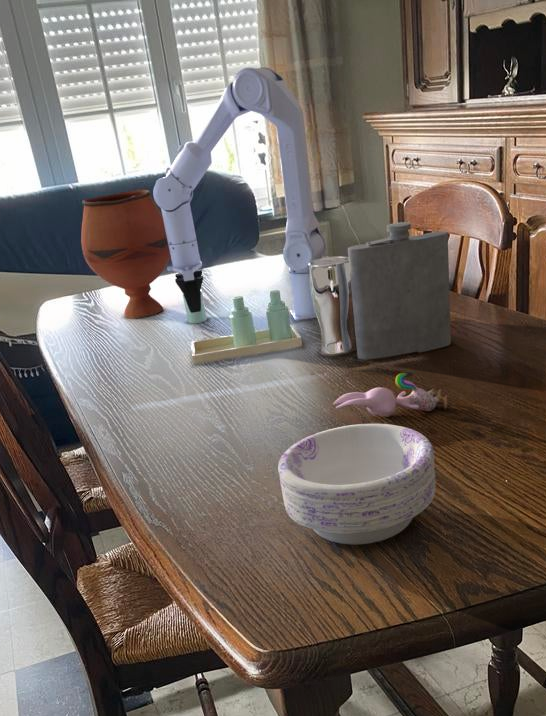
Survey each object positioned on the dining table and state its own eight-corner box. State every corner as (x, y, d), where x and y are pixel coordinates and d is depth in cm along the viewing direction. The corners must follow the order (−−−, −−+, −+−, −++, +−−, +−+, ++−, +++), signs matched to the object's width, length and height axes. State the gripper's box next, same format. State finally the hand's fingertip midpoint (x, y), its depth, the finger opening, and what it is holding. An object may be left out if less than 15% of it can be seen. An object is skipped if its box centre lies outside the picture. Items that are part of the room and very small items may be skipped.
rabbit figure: (433, 407, 104) (328, 410, 101) (438, 365, 101) (331, 367, 98) (449, 423, 98) (339, 426, 96) (455, 379, 96) (342, 381, 93)
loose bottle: (206, 316, 159) (198, 273, 155) (207, 321, 156) (199, 277, 151) (188, 319, 159) (179, 276, 154) (188, 324, 155) (179, 280, 151)
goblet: (83, 326, 165) (51, 206, 153) (131, 302, 180) (105, 191, 168) (156, 325, 158) (128, 199, 146) (200, 300, 173) (178, 184, 161)
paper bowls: (285, 497, 83) (275, 431, 79) (421, 478, 83) (417, 412, 79) (290, 572, 70) (278, 498, 66) (452, 551, 70) (449, 475, 66)
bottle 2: (290, 337, 136) (284, 287, 132) (294, 343, 133) (287, 292, 129) (269, 340, 136) (261, 290, 132) (271, 346, 133) (264, 295, 128)
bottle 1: (255, 342, 136) (248, 293, 132) (258, 349, 132) (250, 298, 128) (234, 346, 136) (225, 296, 131) (235, 352, 132) (227, 301, 128)
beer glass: (330, 361, 123) (320, 267, 115) (311, 352, 128) (300, 262, 121) (366, 350, 125) (359, 258, 118) (345, 342, 131) (337, 254, 123)
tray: (295, 334, 139) (293, 324, 138) (302, 348, 131) (301, 337, 130) (192, 351, 138) (190, 341, 137) (194, 366, 129) (191, 355, 129)
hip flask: (446, 339, 125) (442, 213, 115) (455, 346, 122) (452, 216, 112) (355, 357, 123) (343, 230, 113) (362, 364, 119) (351, 233, 110)
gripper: (162, 239, 155) (176, 304, 162) (162, 250, 143) (176, 320, 149) (196, 234, 156) (208, 299, 163) (198, 244, 143) (211, 315, 150)
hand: (195, 309), depth 156 cm, fingers closed on loose bottle, 4 cm apart
